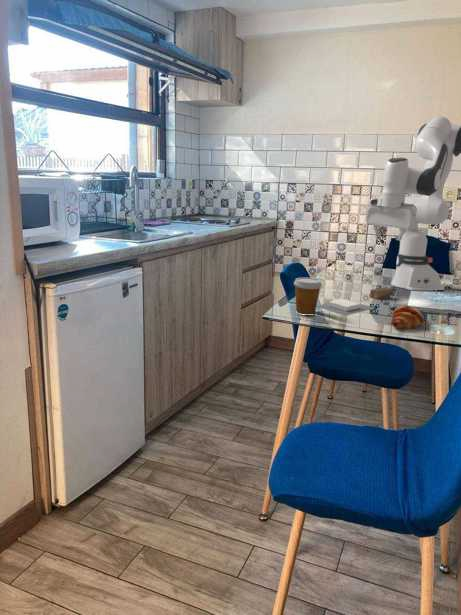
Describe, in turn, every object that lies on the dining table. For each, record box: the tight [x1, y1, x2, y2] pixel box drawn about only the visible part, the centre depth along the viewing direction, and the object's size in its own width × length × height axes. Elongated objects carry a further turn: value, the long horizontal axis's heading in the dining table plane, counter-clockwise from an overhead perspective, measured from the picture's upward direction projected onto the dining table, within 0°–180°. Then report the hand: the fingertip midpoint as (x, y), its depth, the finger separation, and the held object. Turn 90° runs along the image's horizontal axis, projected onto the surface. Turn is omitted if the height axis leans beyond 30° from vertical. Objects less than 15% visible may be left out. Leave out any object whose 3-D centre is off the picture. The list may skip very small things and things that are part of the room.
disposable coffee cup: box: [293, 276, 323, 315], centre depth 176 cm, size 10×10×12 cm
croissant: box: [391, 305, 425, 330], centre depth 171 cm, size 21×10×8 cm, turn 142°
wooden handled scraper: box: [369, 286, 392, 300], centre depth 200 cm, size 7×18×4 cm, turn 130°
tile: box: [328, 298, 361, 311], centre depth 185 cm, size 2×8×8 cm
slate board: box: [316, 302, 376, 317], centre depth 186 cm, size 18×14×1 cm
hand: (387, 238), depth 197 cm, fingers open, 8 cm apart
